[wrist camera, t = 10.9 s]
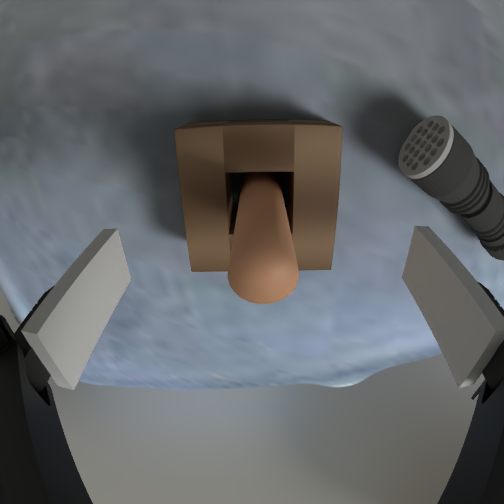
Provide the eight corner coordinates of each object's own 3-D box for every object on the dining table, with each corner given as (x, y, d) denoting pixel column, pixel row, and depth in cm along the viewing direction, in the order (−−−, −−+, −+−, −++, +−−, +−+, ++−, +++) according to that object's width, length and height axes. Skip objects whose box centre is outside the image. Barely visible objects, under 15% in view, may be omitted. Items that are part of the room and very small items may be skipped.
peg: (240, 167, 22) (224, 246, 11) (279, 165, 21) (299, 243, 11) (243, 202, 23) (231, 304, 13) (280, 200, 23) (297, 302, 12)
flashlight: (508, 209, 22) (539, 233, 18) (481, 248, 25) (509, 276, 20) (422, 111, 19) (461, 121, 14) (388, 164, 21) (420, 185, 16)
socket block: (188, 123, 20) (174, 129, 16) (328, 120, 20) (342, 126, 16) (200, 245, 25) (191, 271, 21) (321, 243, 25) (330, 269, 21)
